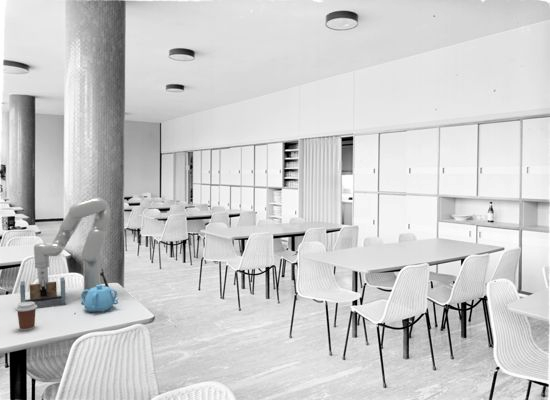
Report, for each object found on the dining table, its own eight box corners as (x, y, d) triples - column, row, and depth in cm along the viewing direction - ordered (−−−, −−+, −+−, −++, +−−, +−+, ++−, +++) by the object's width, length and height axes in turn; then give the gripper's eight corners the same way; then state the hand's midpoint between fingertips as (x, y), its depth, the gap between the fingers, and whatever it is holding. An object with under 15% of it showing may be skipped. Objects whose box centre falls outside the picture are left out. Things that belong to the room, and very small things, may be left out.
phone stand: (108, 285, 295) (108, 268, 294) (108, 288, 290) (108, 269, 289) (93, 287, 292) (93, 269, 291) (93, 289, 286) (93, 271, 285)
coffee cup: (35, 323, 221) (34, 299, 220) (39, 328, 214) (39, 303, 214) (14, 327, 215) (13, 303, 214) (18, 332, 208) (17, 307, 208)
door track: (64, 300, 260) (64, 277, 259) (65, 304, 252) (65, 280, 251) (21, 306, 250) (20, 281, 249) (21, 310, 242) (20, 285, 241)
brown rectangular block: (56, 296, 268) (56, 281, 268) (56, 297, 265) (56, 282, 265) (30, 299, 262) (29, 284, 261) (30, 300, 259) (29, 285, 258)
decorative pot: (79, 309, 245) (78, 285, 244) (107, 303, 256) (107, 280, 255) (90, 316, 233) (89, 290, 232) (120, 309, 244) (119, 285, 243)
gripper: (49, 266, 257) (51, 297, 258) (48, 261, 271) (50, 291, 272) (34, 268, 253) (36, 299, 254) (34, 262, 268) (36, 293, 269)
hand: (43, 295), depth 263 cm, fingers closed on brown rectangular block, 3 cm apart
